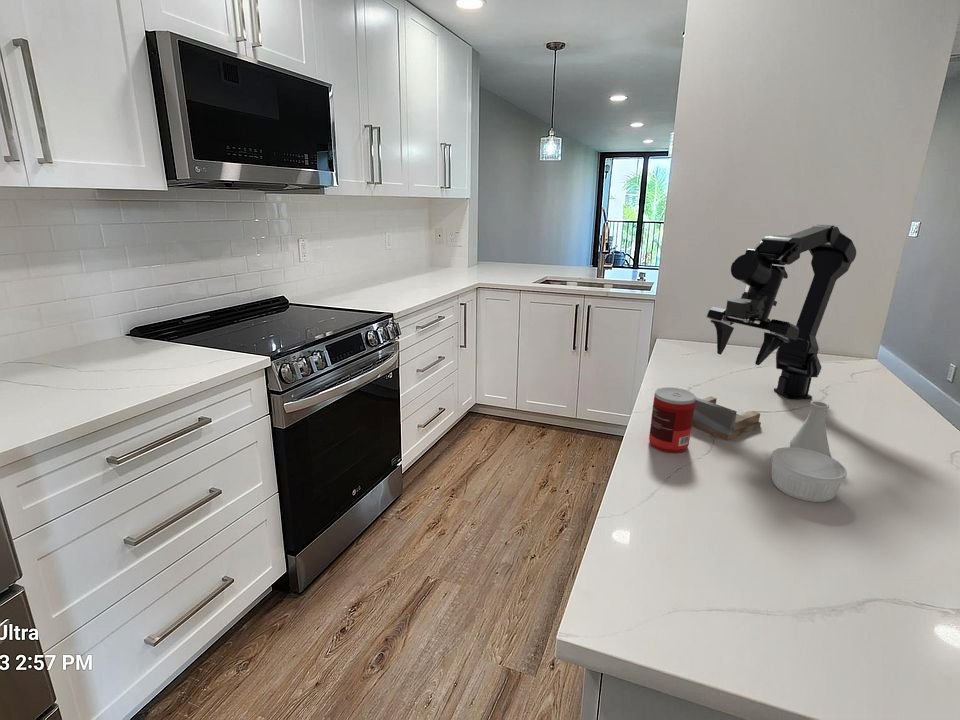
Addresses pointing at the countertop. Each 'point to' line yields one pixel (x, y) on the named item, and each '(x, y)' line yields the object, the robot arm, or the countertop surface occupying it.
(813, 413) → the flask
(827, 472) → the ramekin
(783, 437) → the countertop surface
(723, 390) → the countertop surface
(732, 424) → the stand
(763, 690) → the countertop surface
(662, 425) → the canned food
